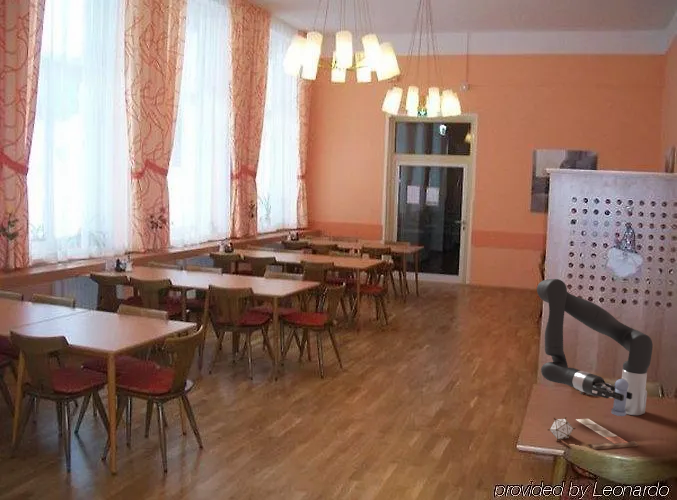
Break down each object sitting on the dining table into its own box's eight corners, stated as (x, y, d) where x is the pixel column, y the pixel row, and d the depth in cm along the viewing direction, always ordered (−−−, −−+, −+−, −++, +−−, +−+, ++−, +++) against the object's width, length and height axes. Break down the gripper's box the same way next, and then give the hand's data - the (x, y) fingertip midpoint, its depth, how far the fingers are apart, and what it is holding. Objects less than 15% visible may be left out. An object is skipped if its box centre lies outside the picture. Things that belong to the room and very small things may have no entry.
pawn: (620, 410, 262) (623, 376, 261) (629, 415, 258) (632, 381, 256) (608, 411, 261) (611, 377, 259) (617, 416, 256) (620, 381, 255)
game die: (564, 451, 260) (577, 436, 253) (542, 440, 261) (554, 425, 254) (568, 432, 267) (580, 417, 260) (546, 422, 268) (558, 406, 261)
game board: (593, 419, 283) (593, 417, 283) (637, 446, 259) (637, 443, 258) (552, 422, 278) (553, 419, 278) (594, 449, 253) (594, 446, 253)
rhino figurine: (579, 386, 327) (580, 373, 326) (590, 396, 314) (592, 382, 313) (570, 385, 327) (571, 372, 326) (581, 395, 313) (582, 382, 313)
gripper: (576, 375, 266) (615, 389, 252) (602, 371, 274) (641, 384, 259) (574, 395, 267) (613, 410, 253) (600, 390, 275) (639, 404, 260)
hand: (627, 397), depth 256 cm, fingers closed on pawn, 4 cm apart
